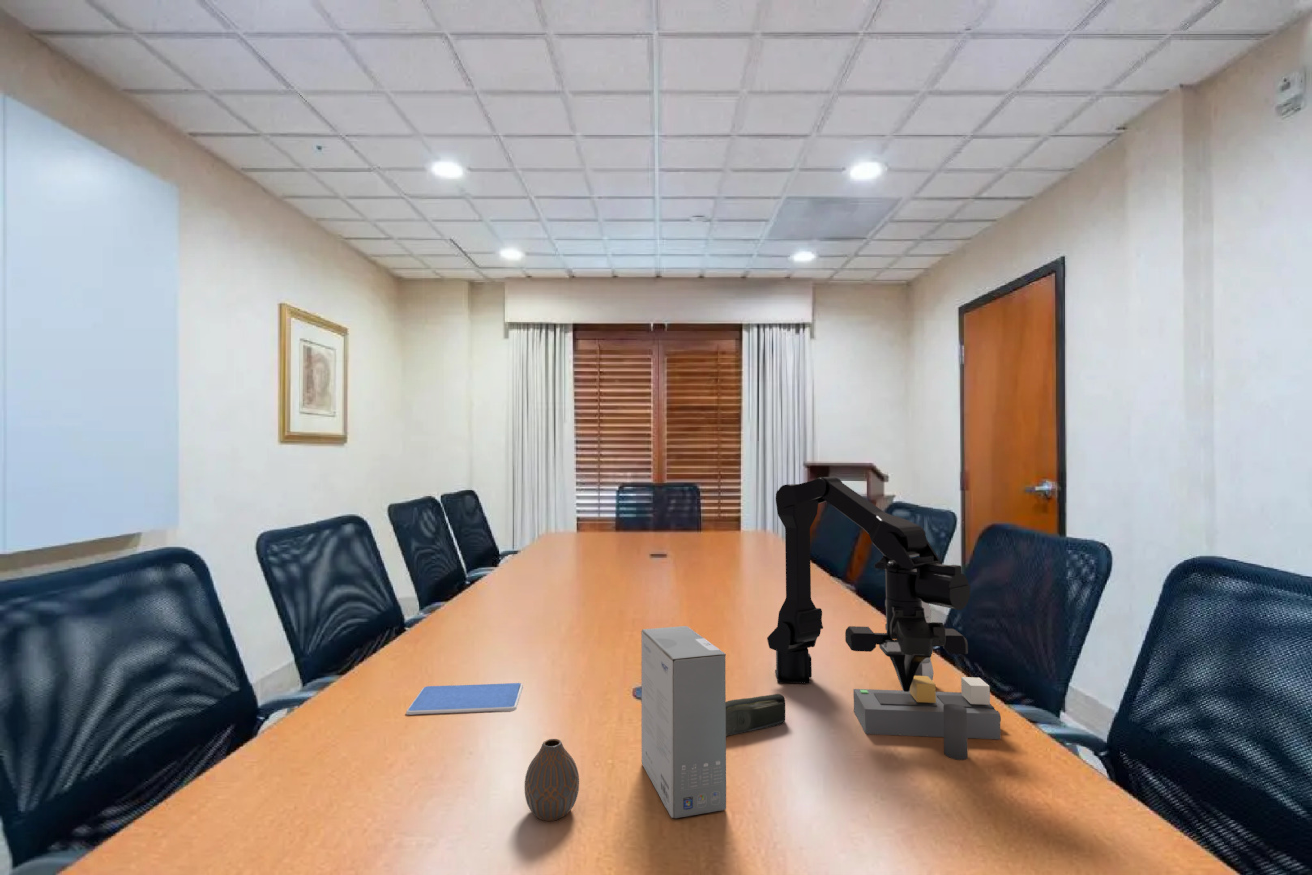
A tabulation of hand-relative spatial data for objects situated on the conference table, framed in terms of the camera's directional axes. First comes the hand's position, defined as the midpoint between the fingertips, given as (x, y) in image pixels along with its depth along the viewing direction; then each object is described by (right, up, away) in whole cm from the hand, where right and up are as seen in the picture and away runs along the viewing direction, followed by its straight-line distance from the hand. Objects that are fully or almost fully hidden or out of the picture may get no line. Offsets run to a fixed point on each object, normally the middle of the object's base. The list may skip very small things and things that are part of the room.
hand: (905, 690), depth 105 cm
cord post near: (+3, -5, -11) cm, 13 cm away
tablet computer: (-78, -7, +11) cm, 79 cm away
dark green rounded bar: (-27, -6, -2) cm, 28 cm away
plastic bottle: (+9, -6, +18) cm, 22 cm away
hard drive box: (-39, -5, -20) cm, 44 cm away
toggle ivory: (+11, -1, -1) cm, 11 cm away
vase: (-56, -5, -26) cm, 62 cm away
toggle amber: (+3, -1, 0) cm, 3 cm away
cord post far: (+5, -6, +10) cm, 13 cm away
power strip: (+3, -6, 0) cm, 6 cm away
